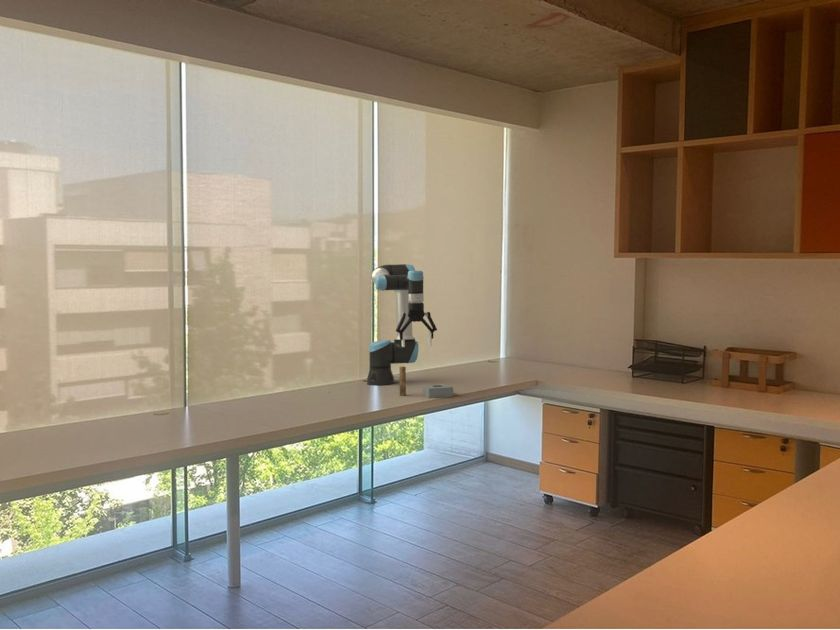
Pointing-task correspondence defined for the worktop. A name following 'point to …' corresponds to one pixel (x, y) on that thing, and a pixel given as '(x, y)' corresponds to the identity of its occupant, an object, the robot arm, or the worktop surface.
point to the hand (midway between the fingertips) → (416, 346)
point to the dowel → (402, 381)
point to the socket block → (437, 390)
